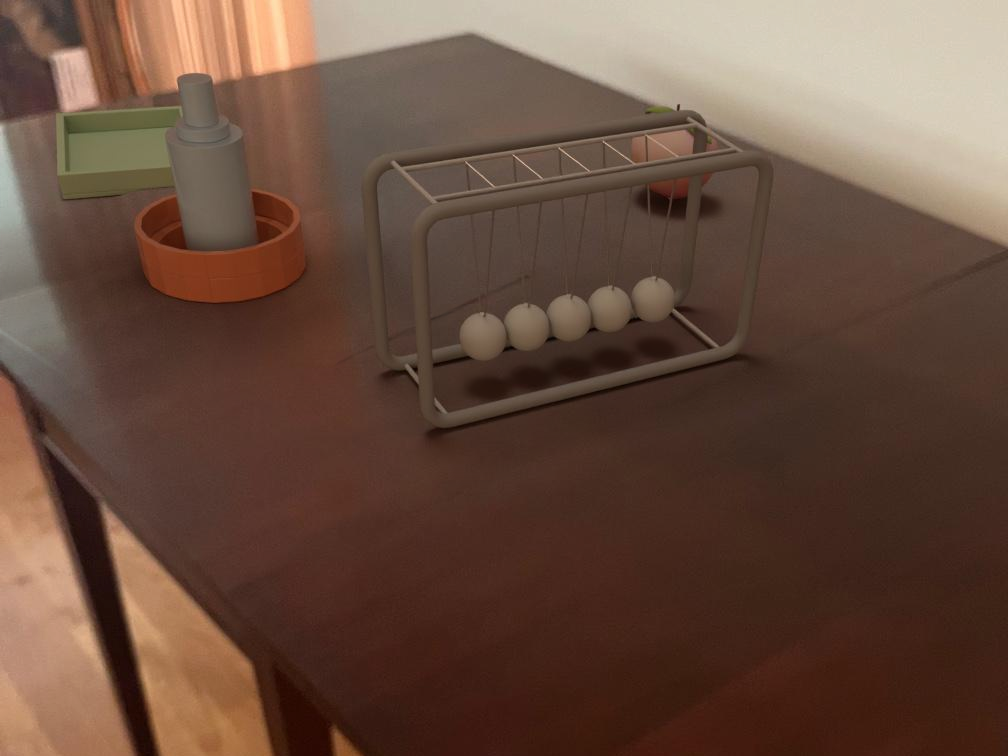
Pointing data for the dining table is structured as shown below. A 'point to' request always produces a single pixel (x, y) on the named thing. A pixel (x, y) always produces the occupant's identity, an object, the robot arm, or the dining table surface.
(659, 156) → the decorative fruit
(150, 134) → the tray
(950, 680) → the dining table surface
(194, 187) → the bottle
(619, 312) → the newton's cradle
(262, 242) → the bowl
